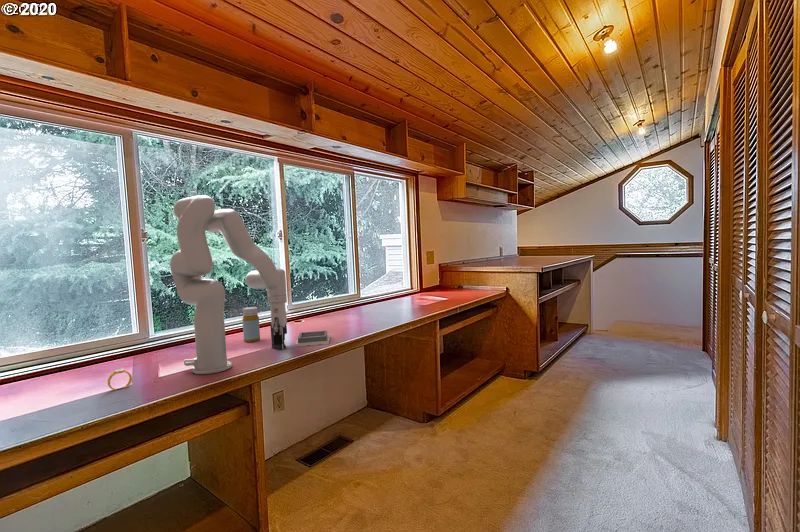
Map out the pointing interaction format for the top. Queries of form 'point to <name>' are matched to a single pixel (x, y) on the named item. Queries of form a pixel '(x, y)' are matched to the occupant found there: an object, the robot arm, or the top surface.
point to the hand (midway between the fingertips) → (279, 342)
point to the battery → (283, 332)
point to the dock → (312, 338)
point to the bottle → (250, 324)
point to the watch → (117, 373)
